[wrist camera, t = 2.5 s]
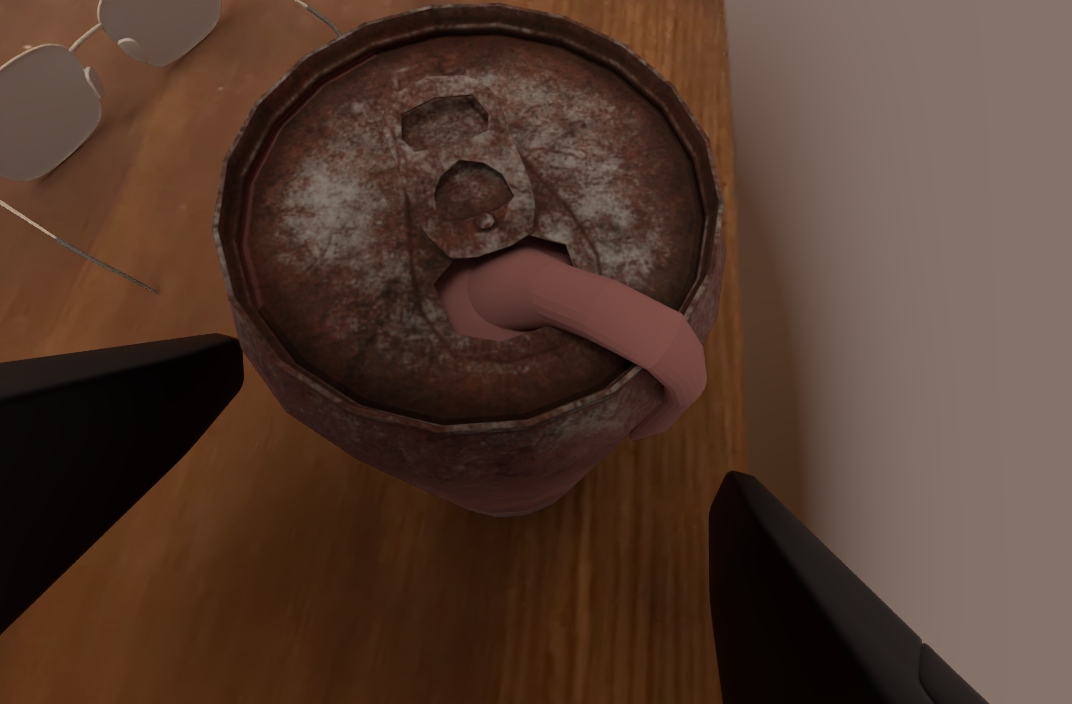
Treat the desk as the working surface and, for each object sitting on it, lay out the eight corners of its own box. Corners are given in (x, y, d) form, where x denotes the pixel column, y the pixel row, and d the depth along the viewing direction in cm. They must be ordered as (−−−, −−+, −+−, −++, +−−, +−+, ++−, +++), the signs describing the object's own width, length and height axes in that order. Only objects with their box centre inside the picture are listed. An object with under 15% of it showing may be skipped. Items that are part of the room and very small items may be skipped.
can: (539, 559, 17) (597, 638, 4) (387, 454, 18) (36, 246, 5) (628, 409, 19) (869, 124, 6) (485, 321, 20) (414, -90, 7)
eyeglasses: (240, 3, 25) (197, -87, 22) (375, 82, 25) (355, 4, 21) (5, 207, 21) (-100, 141, 17) (160, 308, 21) (87, 263, 17)
